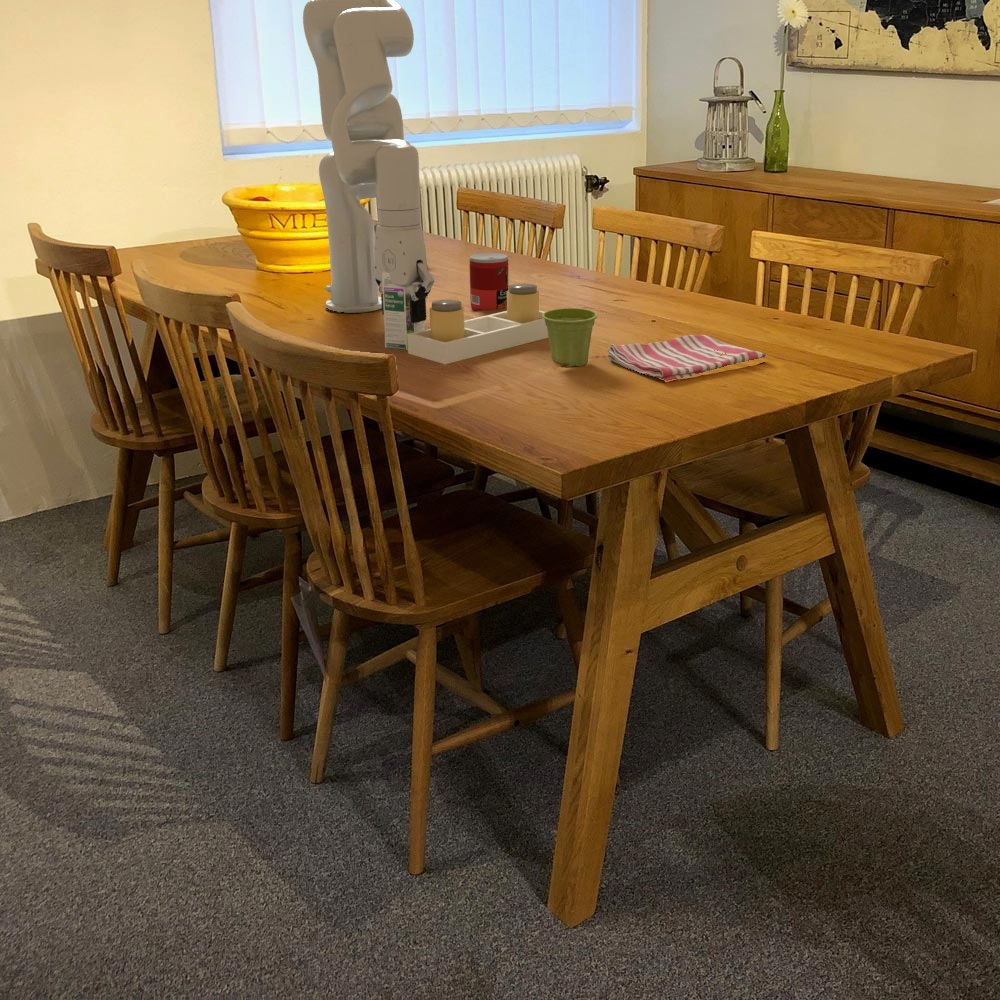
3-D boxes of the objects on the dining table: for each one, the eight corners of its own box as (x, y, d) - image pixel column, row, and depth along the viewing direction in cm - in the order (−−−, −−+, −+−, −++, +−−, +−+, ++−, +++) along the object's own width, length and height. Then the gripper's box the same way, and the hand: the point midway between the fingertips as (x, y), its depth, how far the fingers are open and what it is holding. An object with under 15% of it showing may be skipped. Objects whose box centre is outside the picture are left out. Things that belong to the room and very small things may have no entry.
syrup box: (384, 351, 208) (380, 271, 203) (398, 343, 213) (395, 265, 208) (412, 354, 206) (409, 273, 201) (426, 346, 211) (423, 267, 206)
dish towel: (603, 363, 201) (603, 343, 200) (708, 344, 212) (709, 326, 210) (662, 387, 188) (663, 366, 186) (771, 366, 198) (772, 346, 197)
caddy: (408, 357, 204) (407, 333, 203) (523, 328, 222) (523, 306, 221) (445, 368, 198) (444, 344, 196) (561, 338, 216) (561, 315, 214)
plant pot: (580, 373, 194) (581, 323, 190) (532, 366, 198) (532, 316, 195) (605, 360, 201) (607, 311, 198) (558, 353, 206) (559, 305, 202)
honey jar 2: (500, 334, 216) (500, 286, 212) (523, 328, 219) (523, 281, 216) (522, 339, 212) (522, 291, 208) (545, 333, 215) (545, 286, 212)
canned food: (504, 314, 234) (504, 260, 230) (466, 313, 235) (465, 259, 231) (512, 305, 241) (511, 253, 237) (474, 304, 242) (473, 252, 238)
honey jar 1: (424, 353, 204) (422, 303, 201) (449, 346, 208) (448, 297, 204) (446, 359, 200) (444, 308, 196) (472, 352, 204) (470, 302, 200)
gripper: (352, 215, 204) (358, 313, 211) (414, 226, 193) (418, 329, 199) (385, 211, 209) (390, 306, 216) (448, 221, 197) (451, 322, 204)
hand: (404, 317), depth 208 cm, fingers closed on syrup box, 7 cm apart
